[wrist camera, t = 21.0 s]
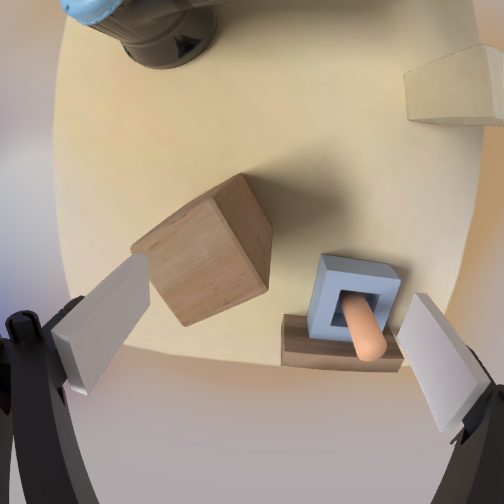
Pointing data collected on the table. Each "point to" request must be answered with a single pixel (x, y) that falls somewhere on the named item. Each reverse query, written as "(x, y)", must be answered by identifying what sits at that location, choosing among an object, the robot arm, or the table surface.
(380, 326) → the socket block
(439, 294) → the table surface
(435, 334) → the robot arm
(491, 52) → the toy refrigerator
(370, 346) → the dowel
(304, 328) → the wall
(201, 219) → the wooden block
